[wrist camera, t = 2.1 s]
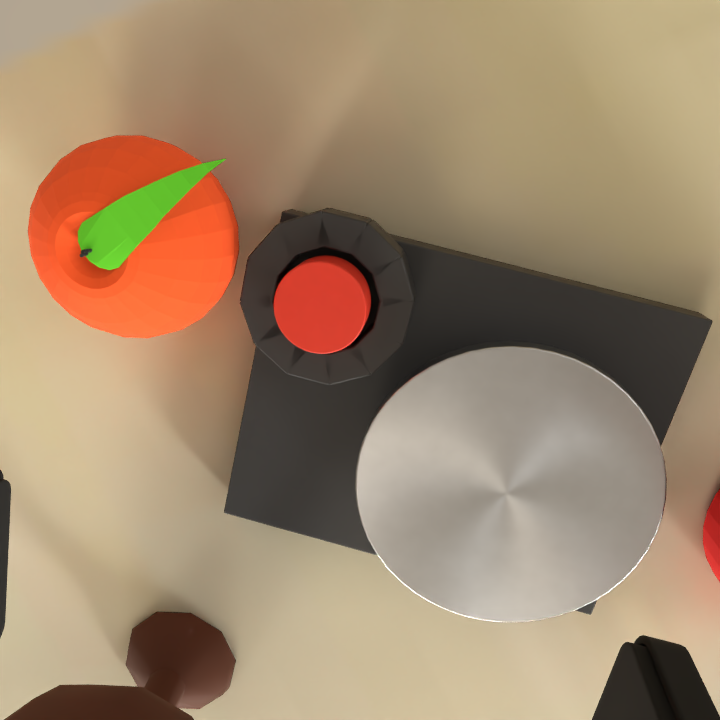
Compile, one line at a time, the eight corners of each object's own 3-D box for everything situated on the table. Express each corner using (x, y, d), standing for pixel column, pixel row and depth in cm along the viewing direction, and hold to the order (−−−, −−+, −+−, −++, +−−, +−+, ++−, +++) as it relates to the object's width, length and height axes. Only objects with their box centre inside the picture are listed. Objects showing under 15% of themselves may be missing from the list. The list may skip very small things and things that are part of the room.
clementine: (204, 80, 25) (113, 49, 18) (317, 232, 26) (272, 257, 19) (60, 211, 27) (-69, 227, 20) (170, 346, 28) (82, 405, 21)
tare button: (276, 330, 24) (265, 340, 23) (293, 245, 23) (283, 250, 22) (360, 352, 24) (354, 364, 23) (380, 267, 23) (376, 274, 22)
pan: (330, 566, 27) (326, 578, 26) (397, 306, 23) (395, 310, 22) (599, 642, 26) (604, 656, 25) (708, 386, 23) (717, 394, 22)
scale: (221, 494, 30) (198, 529, 27) (279, 191, 26) (258, 194, 23) (584, 594, 29) (599, 642, 26) (705, 298, 25) (738, 316, 22)
